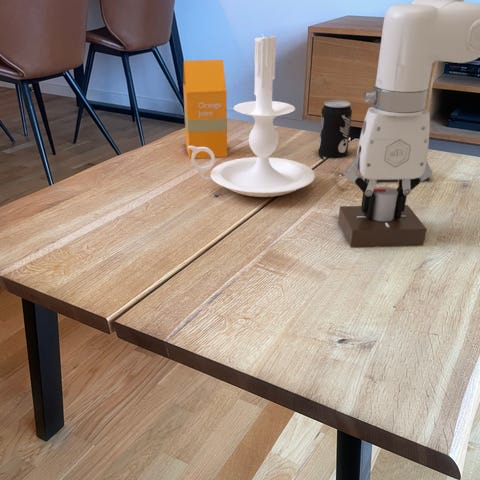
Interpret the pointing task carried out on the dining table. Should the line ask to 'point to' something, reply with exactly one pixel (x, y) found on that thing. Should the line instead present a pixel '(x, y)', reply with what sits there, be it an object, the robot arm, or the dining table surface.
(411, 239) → the panel
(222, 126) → the orange juice
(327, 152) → the beverage can
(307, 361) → the dining table surface
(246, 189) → the candlestick
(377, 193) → the warmer dial
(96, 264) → the dining table surface
